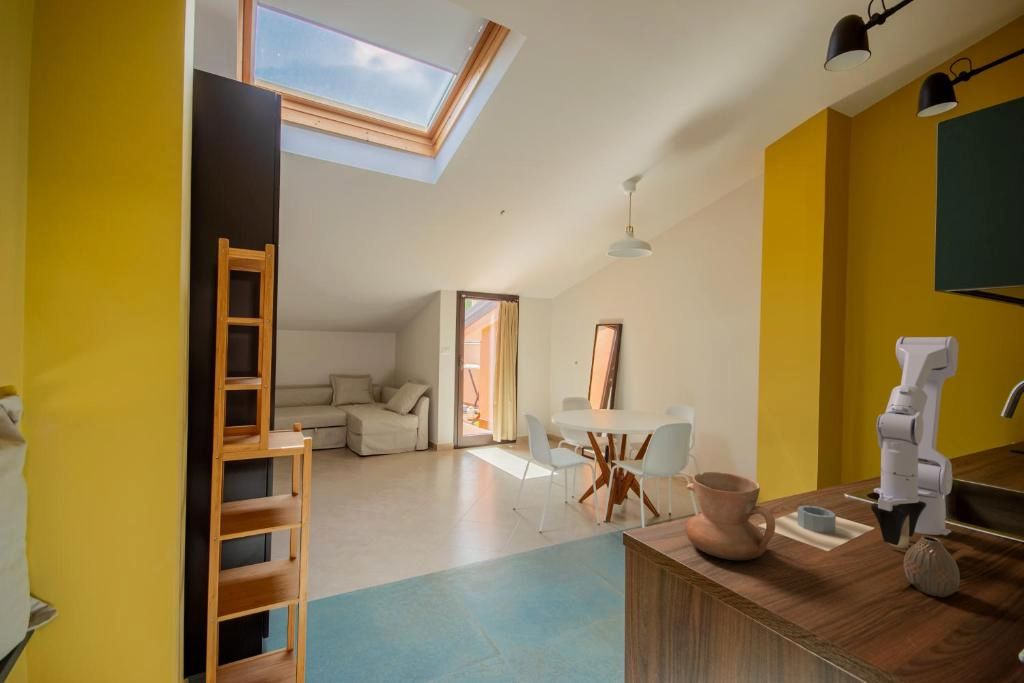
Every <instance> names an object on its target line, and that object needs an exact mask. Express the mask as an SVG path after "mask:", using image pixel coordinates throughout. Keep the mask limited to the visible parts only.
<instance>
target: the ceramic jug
mask: <svg viewBox="0 0 1024 683" xmlns="http://www.w3.org/2000/svg"><path fill="white" fill-rule="evenodd" d="M686 489H687V490H689V491H692V492H694V494H695V495H696V498H697V502H698V505H699V507H700V509H701V512H700V513H698V514H696V515H694V516H693V515H692V517H689V518H688V520H687V522H686V523H685V534H686V537H687V538H688V541H690V543H691V544H692V545H693V546H694V547H695V548H697V549H699V551H700V552H701V551H702V552H703V553H705V554H707V555H710V556H712V557H716V558H720V559H721V560H722V559H723V560H729V561H748V560H754V559H757V558H759V557H760V556H762V555H763V554H764V553H765V551H766V549H767V545H768V544H769V542H771V540H772V539H773V537H774V534H775V520H774V519H775V516H774V515H773V513H772V512H771V511H770V510H769V509H767V508H765V507H764V506H761V505H760V506H759V505H757V502H758V501H759V500H758V499H759V496H760V490H761V486H760V484H759V483H758V482H757V481H755V480H753V478H750V477H746V476H743V475H740V474H735V473H730V472H729V473H728V472H723V471H722V472H720V471H719V472H718V471H702V472H701V473H699V472H697V473H695V474H693V476H692V483H688V484H687V486H686ZM756 514H759V515H761V516H763V517H764V519H765V523H766V529H765V532H764V534H763V533H762V531H761V530H760V529H759V528H758V526H755V525H754V524H753V523H752V522H751V521H750V520H749V519H750V517H752V516H754V515H756Z"/></svg>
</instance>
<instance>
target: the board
mask: <svg viewBox="0 0 1024 683" xmlns="http://www.w3.org/2000/svg"><path fill="white" fill-rule="evenodd" d="M774 520H775V532H774V534H775V533H776V534H778V535H781V536H784V537H787V538H790V539H791V540H794V541H798V542H801V543H803V544H807V545H809V546H812V547H815V548H817V549H820V550H823V551H825V552H830V551H832V550H834V549H836V548H838V547H839V546H841V545H843V544H846V543H848V542H850V541H852V540H854V539H856V538H858V537H860V536H862V535H864V534H866V533H869V532H871V531H873V530H874V529H876V528H875V527H873V526H869V525H865V524H863V523H859V522H856V521H852V520H849V519H845V518H842V517H839V516H836V521H835V532H833V533H818V532H813V531H810V530H807V529H804V528H802V527H801V526H799V525H798V510H797V511H794V512H792V513H789V514H785V515H782V516H781V517H777V518H774ZM757 527H759V528H761V529H765V530H766V522H764V523H761V524H758V525H757Z"/></svg>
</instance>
